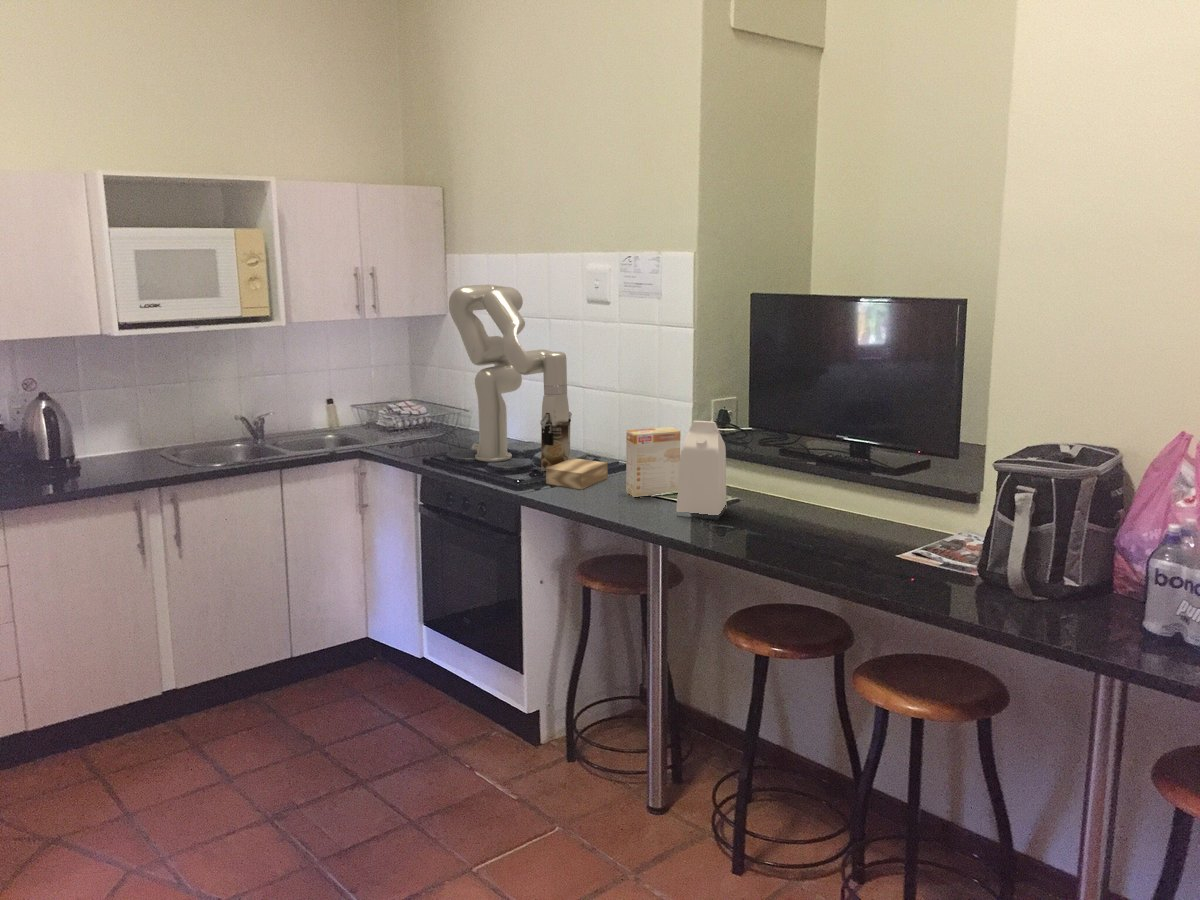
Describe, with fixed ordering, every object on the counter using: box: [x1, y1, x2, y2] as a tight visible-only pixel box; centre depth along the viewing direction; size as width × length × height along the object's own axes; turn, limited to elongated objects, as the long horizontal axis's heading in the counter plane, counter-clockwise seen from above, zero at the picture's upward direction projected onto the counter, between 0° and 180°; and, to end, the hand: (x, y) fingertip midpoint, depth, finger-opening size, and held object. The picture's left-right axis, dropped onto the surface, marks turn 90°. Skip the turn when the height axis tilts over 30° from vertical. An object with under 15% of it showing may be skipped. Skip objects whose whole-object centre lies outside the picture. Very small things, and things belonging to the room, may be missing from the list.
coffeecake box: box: [625, 426, 681, 498], centre depth 288 cm, size 15×7×20 cm, turn 109°
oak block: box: [545, 457, 609, 490], centre depth 304 cm, size 13×16×5 cm
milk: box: [675, 420, 727, 515], centre depth 268 cm, size 12×12×26 cm
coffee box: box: [540, 422, 571, 472], centre depth 316 cm, size 9×6×16 cm
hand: (556, 442), depth 315 cm, fingers open, 9 cm apart
